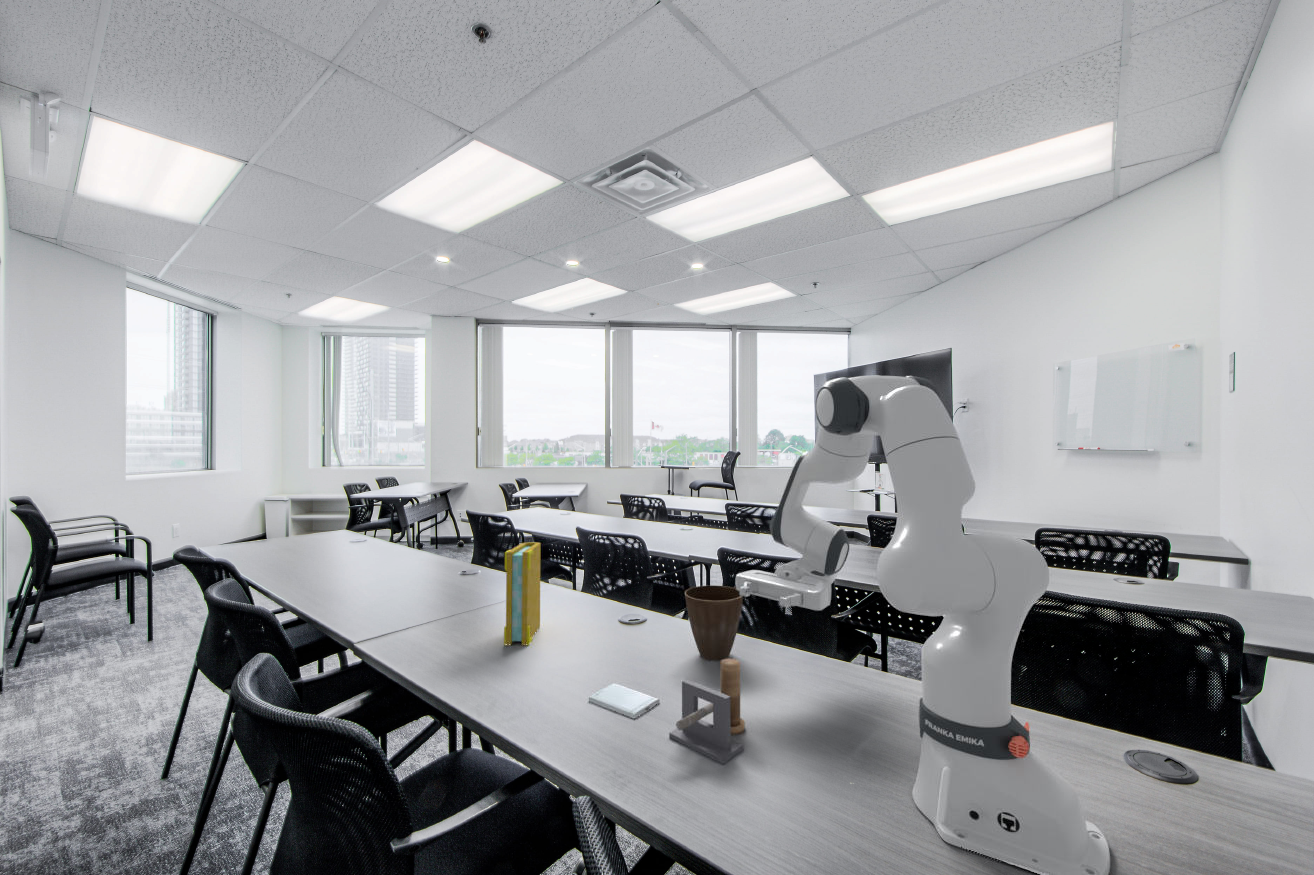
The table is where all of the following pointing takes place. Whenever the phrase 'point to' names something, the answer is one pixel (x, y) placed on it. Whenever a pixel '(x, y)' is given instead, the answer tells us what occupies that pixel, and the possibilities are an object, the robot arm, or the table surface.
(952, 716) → the robot arm
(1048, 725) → the table surface
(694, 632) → the plant pot
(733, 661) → the hammer
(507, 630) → the book
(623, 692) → the hard drive
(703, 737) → the grey square frame stand
